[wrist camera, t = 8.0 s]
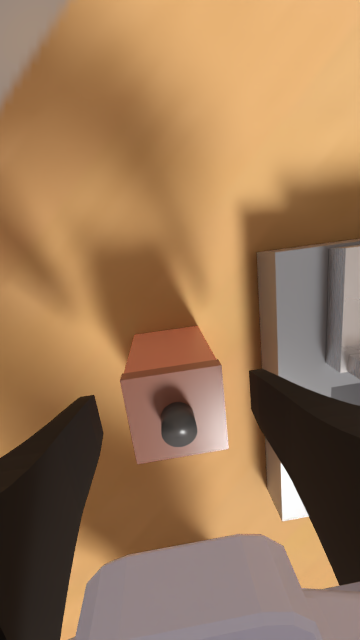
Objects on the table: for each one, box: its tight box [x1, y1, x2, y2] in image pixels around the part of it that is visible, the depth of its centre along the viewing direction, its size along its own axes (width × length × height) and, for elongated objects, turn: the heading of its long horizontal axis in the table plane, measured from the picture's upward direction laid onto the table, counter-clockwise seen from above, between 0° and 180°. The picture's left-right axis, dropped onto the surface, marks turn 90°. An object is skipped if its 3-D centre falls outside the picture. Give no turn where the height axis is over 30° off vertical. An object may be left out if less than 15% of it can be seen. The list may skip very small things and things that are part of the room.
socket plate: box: [257, 239, 360, 521], centre depth 17 cm, size 18×12×2 cm, turn 7°
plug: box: [120, 326, 229, 464], centre depth 13 cm, size 4×4×7 cm
